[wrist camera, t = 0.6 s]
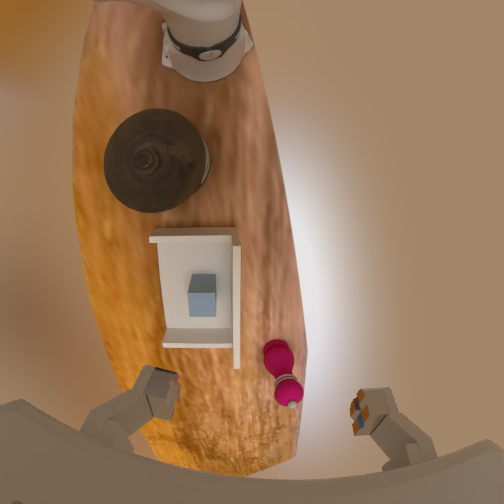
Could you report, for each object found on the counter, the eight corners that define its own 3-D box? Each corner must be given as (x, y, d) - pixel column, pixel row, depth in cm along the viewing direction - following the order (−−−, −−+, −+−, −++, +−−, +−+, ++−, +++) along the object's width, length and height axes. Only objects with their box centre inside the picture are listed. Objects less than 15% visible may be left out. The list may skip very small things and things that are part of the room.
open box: (157, 228, 53) (137, 247, 40) (236, 227, 55) (240, 246, 42) (167, 329, 60) (157, 367, 47) (235, 329, 62) (240, 368, 49)
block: (192, 274, 56) (187, 292, 47) (216, 273, 56) (215, 292, 48) (193, 295, 57) (189, 316, 49) (216, 295, 58) (216, 316, 49)
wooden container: (225, 169, 51) (227, 170, 30) (166, 214, 53) (132, 243, 32) (183, 112, 47) (158, 77, 26) (125, 157, 48) (70, 155, 27)
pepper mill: (263, 362, 66) (276, 421, 47) (259, 340, 64) (273, 400, 45) (290, 356, 67) (310, 413, 48) (288, 335, 64) (311, 392, 45)
